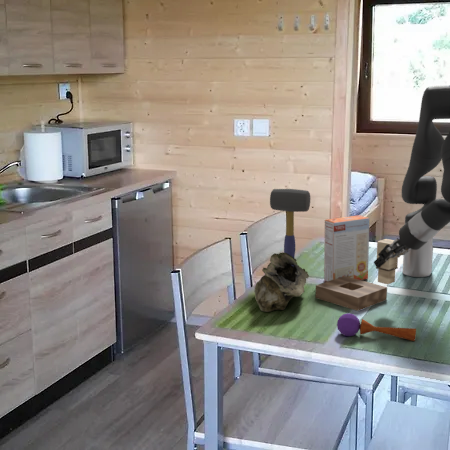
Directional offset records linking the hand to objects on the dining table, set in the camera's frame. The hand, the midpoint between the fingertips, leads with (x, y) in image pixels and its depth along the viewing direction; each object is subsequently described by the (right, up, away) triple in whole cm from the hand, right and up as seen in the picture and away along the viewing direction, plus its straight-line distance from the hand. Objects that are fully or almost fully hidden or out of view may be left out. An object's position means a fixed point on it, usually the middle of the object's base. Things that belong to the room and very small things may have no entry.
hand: (381, 263), depth 201 cm
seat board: (-7, -11, +12) cm, 18 cm away
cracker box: (-5, -7, +30) cm, 31 cm away
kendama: (-6, -19, -18) cm, 26 cm away
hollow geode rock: (-27, -12, +11) cm, 32 cm away
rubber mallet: (-23, -7, +34) cm, 42 cm away
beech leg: (+1, -5, 0) cm, 5 cm away
